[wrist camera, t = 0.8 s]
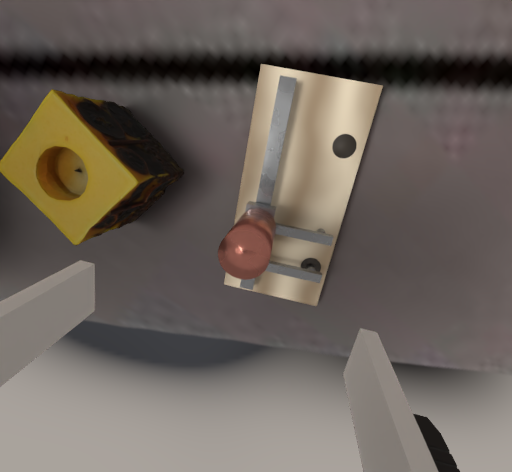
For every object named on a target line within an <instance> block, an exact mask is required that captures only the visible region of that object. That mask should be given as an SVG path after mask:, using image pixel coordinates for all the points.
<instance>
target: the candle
mask: <svg viewBox="0 0 512 472" xmlns="http://www.w3.org/2000/svg"><path fill="white" fill-rule="evenodd" d="M0 172H1V173H2V174H3V175H4V176H5V177H6V178H7V179H8V180H9V181H10V182H11V183H12V184H14V185H15V186H16V187H17V188H18V189H19V190H20V191H21V192H23V193H24V194H25V195H26V196H27V197H28V198H29V199H30V200H31V201H32V202H33V203H34V204H35V205H36V206H37V207H38V208H39V209H40V210H41V211H42V212H43V213H44V214H45V215H46V216H47V217H48V218H49V219H50V220H51V221H52V222H53V223H54V224H55V225H56V226H57V227H58V228H59V230H60V231H61V232H62V233H63V234H64V235H65V236H66V237H67V238H68V239H69V240H70V241H71V242H72V243H73V244H74V245H78V244H80V243H82V242H84V241H86V240H88V239H90V238H92V237H96V236H99V235H101V234H102V233H104V232H107V231H109V230H113V229H116V228H120V227H122V226H123V225H125V224H127V223H131V222H133V221H135V220H136V219H137V218H138V217H139V216H140V215H141V214H142V213H143V212H144V211H146V210H148V208H149V207H151V206H152V205H153V203H154V202H155V201H157V200H158V199H159V198H160V197H161V194H162V195H163V194H164V192H165V190H164V189H165V188H166V186H168V185H170V184H171V183H173V182H175V181H177V180H178V179H179V178H180V177H181V176H182V175H183V174H184V171H183V169H181V168H179V166H178V165H177V163H176V162H175V161H174V160H173V159H172V158H171V156H170V154H169V153H167V152H166V151H165V150H164V149H163V147H162V146H161V145H160V143H159V142H157V141H156V140H155V139H154V138H153V137H152V135H151V134H150V133H149V132H148V131H147V130H146V129H145V128H144V127H143V126H142V125H141V124H140V123H139V122H138V121H137V120H136V119H135V118H134V117H133V115H132V114H131V112H130V111H129V110H128V109H126V108H125V107H123V106H119V105H117V104H116V103H114V102H106V101H104V100H94V99H89V98H85V97H77V96H75V95H73V94H66V93H64V92H61V91H57V90H53V89H52V90H51V91H50V92H49V93H48V95H47V96H46V97H45V99H44V100H43V102H42V103H41V105H40V106H39V108H38V109H37V111H36V112H35V114H34V115H33V117H32V118H31V120H30V121H29V123H28V124H27V126H26V127H25V129H24V130H23V131H22V133H21V134H20V136H19V137H18V138H17V140H16V141H15V142H14V143H13V144H12V145H11V147H10V148H9V150H8V151H7V153H6V154H5V156H4V157H3V158H2V160H1V161H0Z"/></svg>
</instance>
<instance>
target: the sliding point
mask: <svg viewBox="0 0 512 472" xmlns="http://www.w3.org/2000/svg"><path fill="white" fill-rule="evenodd" d="M275 211H276V206H271V205H267V204H262V203H257V202H253V201H249V202H248V203H247V205H246V210H245V213H244V214H243V215H242V216H241V217H240V218H239V220H238V221H237V222H236V224H235V225H234V226H233V227H232V229H231V230H230V231H229V233H228V234H227V235H226V236H225V238H224V239H223V240H222V242H221V244H220V246H219V250H218V257H219V261H220V264H221V266H222V267H223V269H224V270H225V271H226V272H227V273H228V274H230V275H231V276H233V277H235V278H238V279H244V280H247V279H253V278H256V277H258V276H260V275H261V274H262V273H263V272H264V271H265V270H266V268H267V267H268V264H269V261H270V256H271V251H272V247H273V242H274V238H275V234H278V235H283V236H287V237H292V238H296V239H301V240H306V241H310V242H315V243H319V244H324V245H328V246H331V244H332V241H333V238H334V237H333V235H330V234H326V233H325V230H324V229H318V230H317V231H312V230H307V229H303V228H298V227H293V226H289V225H284V224H280V223H275V220H274V216H275Z"/></svg>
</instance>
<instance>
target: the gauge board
mask: <svg viewBox="0 0 512 472" xmlns="http://www.w3.org/2000/svg"><path fill="white" fill-rule="evenodd" d="M280 75H281V76H286V77H292V78H297V82H296V87H295V92H294V97H293V102H292V106H291V111H290V116H289V121H288V125H287V130H286V135H285V140H284V145H283V149H282V154H281V159H280V164H279V168H278V173H277V178H276V183H275V188H274V192H273V197H272V202H271V206H276V211H275V216H274V220H275V223H280V224H284V225H289V226H293V227H298V228H303V229H307V230H312V231H317V230H318V229H324V230H325V233H326V234H330V235H333V237H334V238H333V241H332V244H331V246H328V245H324V244H319V243H315V242H310V241H306V240H301V239H296V238H292V237H287V236H283V235H278V234H275V238H274V242H273V247H272V251H271V256H270V261H274V262H278V263H283V264H287V265H292V266H296V267H300V268H305V269H307V268H306V267H307V265H308V264H310V263H312V264H314V266H315V270H316V271H318V272H322V278H321V281H320V283H316V282H312V281H307V280H303V279H299V278H294V277H290V276H286V275H281V274H277V273H273V272H268V271H264V272H263V273H262V274H261V275H260V276H258V277H256V278H255V283H254V287H253V290H250V289H246V288H241V287H240V283H241V279H238V278H235V277H233V276H231V275H230V274H228V273H227V272H226V275H225V281H224V285H229V286H233V287H237V288H241V289H246V290H250V291H254V292H258V293H263V294H267V295H271V296H275V297H280V298H284V299H288V300H292V301H297V302H301V303H305V304H309V305H313V306H317V303H318V300H319V296H320V293H321V290H322V286H323V283H324V280H325V276H326V273H327V270H328V266H329V263H330V260H331V257H332V253H333V250H334V247H335V243H336V240H337V237H338V233H339V230H340V227H341V223H342V220H343V217H344V213H345V210H346V207H347V203H348V200H349V197H350V194H351V190H352V187H353V184H354V180H355V177H356V174H357V170H358V167H359V164H360V160H361V157H362V154H363V150H364V147H365V144H366V141H367V137H368V134H369V131H370V127H371V124H372V121H373V117H374V114H375V111H376V107H377V104H378V101H379V97H380V94H381V91H382V87H383V86H381V85H376V84H370V83H364V82H359V81H353V80H348V79H342V78H337V77H331V76H326V75H320V74H314V73H309V72H303V71H298V70H292V69H287V68H281V67H275V66H270V65H264V64H261V68H260V74H259V80H258V85H257V91H256V97H255V103H254V109H253V115H252V121H251V127H250V133H249V139H248V145H247V151H246V157H245V163H244V168H243V174H242V180H241V186H240V192H239V198H238V204H237V210H236V216H235V222H234V225H235V224H236V222H237V221H238V220H239V218H240V217H241V216H242V215H243V214H244V213H245V210H246V205H247V203H248V202H249V201H253V202H256V199H257V194H258V188H259V183H260V178H261V173H262V167H263V162H264V157H265V152H266V146H267V141H268V136H269V131H270V126H271V120H272V115H273V110H274V105H275V99H276V94H277V89H278V84H279V78H280Z"/></svg>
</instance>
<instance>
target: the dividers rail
mask: <svg viewBox="0 0 512 472" xmlns="http://www.w3.org/2000/svg"><path fill="white" fill-rule="evenodd" d="M296 82H297V78H292V77H286V76H281V75H280V78H279V84H278V89H277V94H276V99H275V105H274V110H273V115H272V120H271V126H270V131H269V136H268V141H267V146H266V152H265V157H264V162H263V167H262V173H261V178H260V183H259V188H258V194H257V199H256V202H257V203H262V204H267V205H271V202H272V197H273V192H274V188H275V183H276V178H277V173H278V168H279V164H280V159H281V154H282V149H283V145H284V140H285V135H286V130H287V125H288V121H289V116H290V111H291V106H292V102H293V97H294V92H295V87H296ZM306 268H307V269H305V268H300V267H296V266H292V265H287V264H283V263H278V262H274V261H269V264H268V267H267V268H266V270H265V271H268V272H273V273H277V274H281V275H286V276H290V277H294V278H299V279H303V280H307V281H312V282H316V283H320V281H321V278H322V272H318V271H316V270H315V266H314V264H312V263H310V264H308V265H307V267H306ZM254 283H255V278H253V279H247V280H244V279H241V283H240V287H241V288H246V289H250V290H253V287H254Z"/></svg>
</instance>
